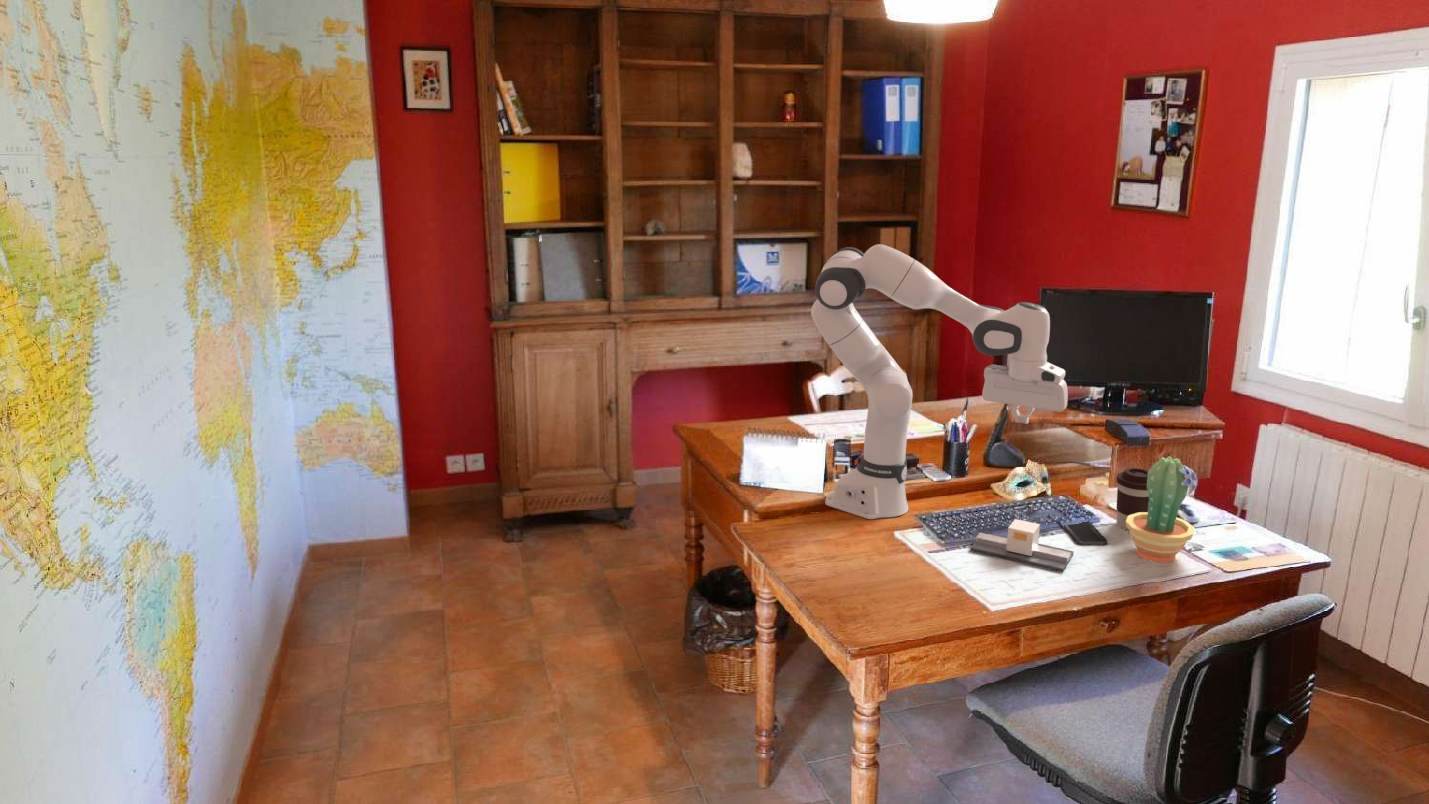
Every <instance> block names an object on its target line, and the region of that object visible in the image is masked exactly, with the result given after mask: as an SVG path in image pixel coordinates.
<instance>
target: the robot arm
mask: <svg viewBox="0 0 1429 804" xmlns="http://www.w3.org/2000/svg"><path fill="white" fill-rule="evenodd" d="M867 289H873V290H876V291H878V292H880V293H882V294H883V295H885V296H887V298H890V299H891V300H893V301H894V302H896V303H898V304H900V305H903V306H905V307H907V308H910V309H911V310H922V309H930V310H931V309H932V310H936V311H939V312H941V313H943V314H944V315H946V316H948V317H949V318H950V319H953V320H955V321H957V322H959V323H960V324H962V325H963V326H964V327H966V328H967V329H968V330H969V332H970V333H971V335H972V341H973V342H972V343H973V345H974V347H975V349H976V350H977V351H978V352H980V353H981V354H983V355H984V356H985V355H986V356H990V357H994V356H1005V355H1009V356H1008V366H1007V365H997V364H990V365H988V366H986V367H984V371H983V377H984V384H983V388H982V395H981V397H982V398H983V400H984V401H985V402H993V403H999V404H1006V405H1011V410H1012V412H1013V414H1014V416H1015V417H1014V418H1015V420H1014V422H1015V423H1020V424H1025V425H1027V424H1029V420H1030V416H1031V415H1032V413H1033V412H1034V411H1035V409H1037V410H1045V411H1051V412H1058V413H1060V412H1063V411H1064V410H1065V409H1066V408H1067V407H1068V402H1069V401H1068V399H1069V396H1068V395H1069V394H1068V393H1069V391H1068V385H1067V382H1066V380H1064V379H1065V377H1066V370H1065V369H1064V368H1061V367H1059V366H1057V365H1054V364H1052V363H1050V362H1049V361H1048V353H1047V347H1048V345H1049V342H1050V334H1051V333H1050V332H1051V317H1050V313H1049V312H1048V310H1047V309H1046V308H1045V307H1044V306H1042V305H1039V304H1036V303H1032V302H1026V301H1022V302H1018V303H1016V305H1014V306H1012V307H1010V308H1008V309H1006V310H1004V309H1002V308H1000V307H997V306H990V305H983V304H980V303H977V302H975V301H974V300H972V299H971V298H969V297H967V296H965V295H964V294H962V293H960V292H958V291H956V290H955V289H953V288H952V287H950V286H949V285H947V284H946V283H945V282H944V281H943V280H941V278H939V277H938V276H937V275H936V274H935V273H934V272H933V271H931V270H930V269H929V268H928V267H926V266H925V265H924V264H923V263H921V262H919V261H918V260H916V259H915V258H914V257H911V256H909V255H908V254H906V253H904V252H903V251H900V250H898V249H896V248H894V247H891V246H888V245H885V244H883V243H882V244H879V243H878V244H875V245H873V246H871V247H869V248H868V249H867V250H866V251H865V252H863V251H861V250H860V249H858V248H856V247H852V246H851V247H850V246H847V247H844V248H840V249H839V250H837V251H835V252H833V254H832V255H831V256H830V258H829V259H828V260H827V261H826V262H825V264H824V265H823V266H822V270H821V272H820V274H819V275H818V276H817V278H816V281H815V289H814V290H815V295H816V298H817V299H816V300H815V301H814V302H813V304H812V307H811V309H810V315H811V318H812V320H813V322H814V324H815V326H816V328H817V330H818V332H819V334H820V335H821V336H822V338H823V339H824V340H825V342H826V344H827V345H828V347H830V349H831V350H832V352H833V354H835V355H836V357H837V359H839V361H840V362H841V364H842V365H843V366H844V368H845V369H847V370H848V372H849V373H850V374H851V376H853V377H854V378H855V380H856V381H857V382H858V383H859V384H860V385H861V387H862V388H863V390H864V392H865V393H866V395H867V400H868V406H867V417H866V423H865V428H864V441H863V442H864V443H863V444H864V445H863V452H862V453H861V454H860V456H857V458H856V459H855V461H854V462H855V463H854V466H856V467H855V468H854V469H852V470H850V471H849V472H847V473H845V474H844V475H842V476H841V477H840V478H839V479H838V480H837V482H836V484H835V486H834V490H832V491H831V492H829V493H828V495H827V496H826V497H825V501H824V505H826V506H828V507H831V508H834V509H837V510H840V511H843V512H846V513H848V514H853V515H855V516H859V517H861V518H864V519H867V520H875V519H880V518H896V517H898V516H902V515H905V514H906V513H907V512H908V511H909V505H908V501H907V495H906V494H907V493H906V479H907V471H908V468H907V464H908V463H907V462H908V461H907V458H906V453H907V452H906V451H907V439H908V430H909V429H908V428H909V423H910V419H911V412H912V411H911V410H912V405H913V404H912V403H913V389H912V387H911V385H910V382H909V381H908V378H907V377H906V374H905V373H904V370H903V369H902V368H901V367H900V366H899V364H898V363H897V362H896V360H895V359H894V358H893V356H892V355H891V354H890V353H889V351H887V349H886V348H885V347H884V346H883V344H882V343H881V342H880V340H879V339H878V337H877V336H876V335H875V333H874V332H873V331H872V329H871V328H870V327H869V325H868V324H867V323H866V321H865V320H864V319H863V317H862V316H861V315H860V313H859V312H858V311H857V309H856V308H855V306H854V302H855V301H856V300H858V299H859V298H860V297H861V296H863V295H864V294H865V293H866V290H867ZM1020 407H1026V412H1027V413H1026V414H1021V412H1020V411H1019V408H1020Z"/></svg>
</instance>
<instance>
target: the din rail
mask: <svg viewBox="0 0 1429 804" xmlns="http://www.w3.org/2000/svg"><path fill="white" fill-rule="evenodd" d="M1007 536H1008V535H1007ZM1007 536H1006V535H1001V534H998V533H993V534H985V533H983V532H979V533H978V534H977V535H976V537H975V542H974V543H973V544H972V545H971V546H970V552H973V553H977V554H982V555H986V556H991V557H995V558H997V559H998V558H999V559H1003V560H1008V561H1012V562H1016V563H1021V564H1024V565H1029V566H1033V567H1037V568H1041V569H1046V570H1050V571H1054V572H1059V573H1061V574H1063V573H1064V572H1065V570H1066V569H1067V567H1068V564H1070V562H1071V559H1072V558H1073V557H1074V553H1075V551H1073V550H1069V549H1064V548H1060V547H1055V546H1051V545H1047V544H1042V543H1038V545H1036V547H1035V548H1034V550H1033V551H1032V556H1028V555H1024V554H1020V553H1015V552H1011V551H1007V550H1006V546H1007Z"/></svg>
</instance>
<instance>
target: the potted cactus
mask: <svg viewBox="0 0 1429 804" xmlns="http://www.w3.org/2000/svg"><path fill="white" fill-rule="evenodd" d="M1198 481H1199V480H1198V477H1197V475H1196V472H1195V471H1194V470H1193V469H1192V468H1190V467H1188V466H1187V465H1185V464H1182V462H1181V460H1180V458H1174V459H1173V457H1171V456H1170V455H1169V456H1167V457H1166V458H1165V457H1161V458H1160V459H1159V460H1157V462H1155V463H1154V464H1153V465H1152V466H1151V467H1150V468H1149V470H1148V477H1147V491H1148V495H1149V504H1148V512H1138V513H1135V514H1132V515H1128V517H1127V520H1126V527H1127V528H1128V529H1129V530H1128V531H1129V533H1130V538H1131V541H1132V542H1133V544H1134V545H1135V547H1136V550H1135V553H1136V555H1137V556H1138V557H1140V558H1141V559H1144V560H1146V561H1149V562H1155V563H1158V564H1159V563H1162V564H1163V563H1165V564H1166V563H1172V562H1174V561H1175V560H1176V555H1178V553H1179V552H1181V551H1182V550H1183V549H1184V547H1185V546H1186V544H1187V542H1188V541H1191V540H1192V538H1193V535H1194V533H1195V527H1194V526H1193V525H1192V524H1191V523H1189V522H1188V521H1187V520H1185V519H1182V518H1180V517H1178V513H1179V511H1180V508H1181V504H1183V501H1184V500H1185V499H1186V497H1187V495H1189V496H1190V495H1191V494H1192V493H1193V492H1194V491H1195V490H1196V488H1197V486H1198Z"/></svg>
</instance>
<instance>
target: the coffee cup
mask: <svg viewBox="0 0 1429 804" xmlns="http://www.w3.org/2000/svg"><path fill="white" fill-rule="evenodd" d="M1148 471H1149V470H1148V469H1144V468H1141V467H1140V468H1139V467H1128V468H1125V469H1124V471H1122V472H1119V473H1117V474H1116V483H1117V484H1118V487H1117V490H1116V492H1117V493H1116V507H1115V508H1116V525H1117V526H1118V527H1120V528H1121V529H1124V530H1127V531H1130V530H1129V529H1128V528H1127V527H1126V520H1127V517H1128V515H1132V514H1135V513H1138V512H1148V504H1149V495H1148V491H1147V477H1148Z"/></svg>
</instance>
